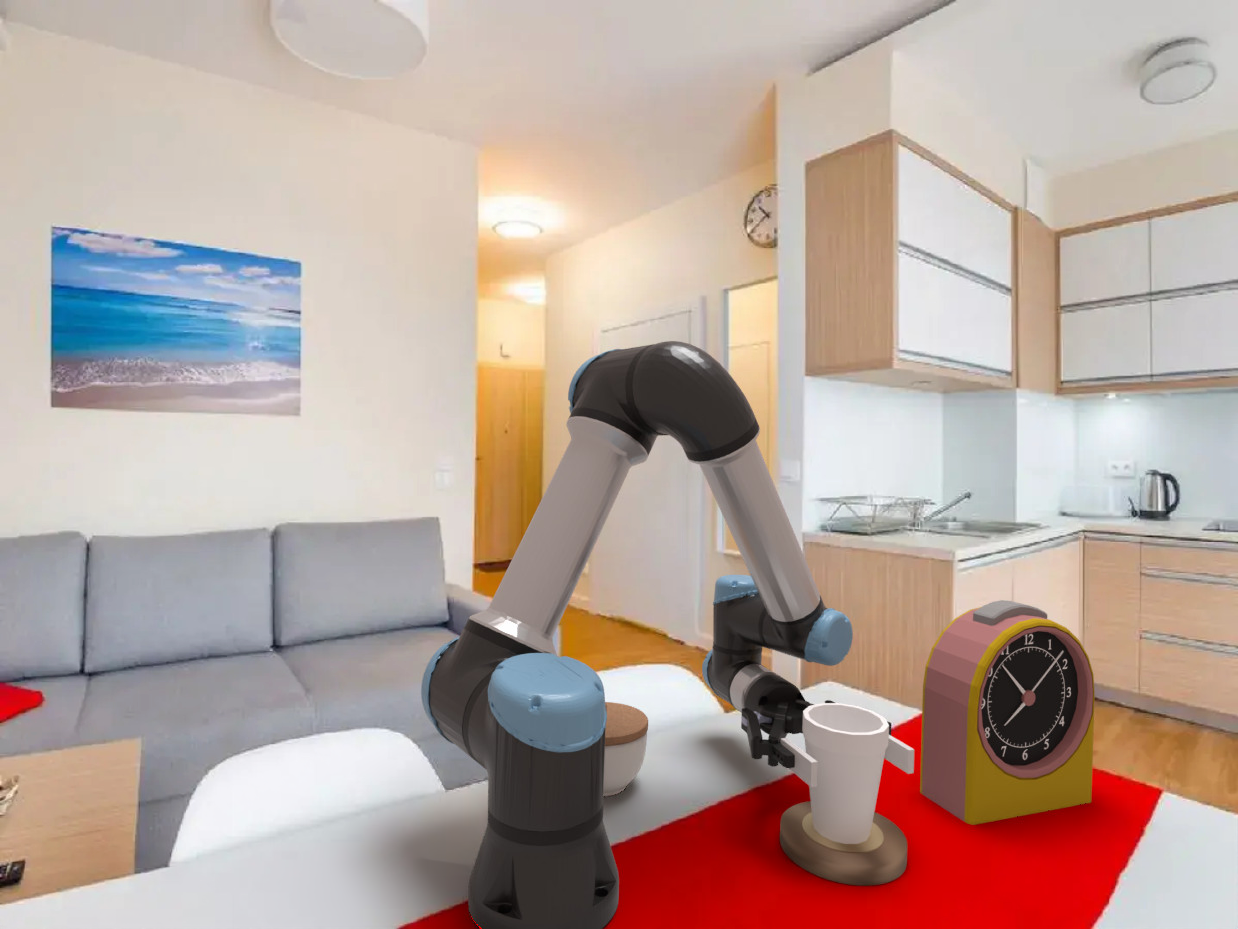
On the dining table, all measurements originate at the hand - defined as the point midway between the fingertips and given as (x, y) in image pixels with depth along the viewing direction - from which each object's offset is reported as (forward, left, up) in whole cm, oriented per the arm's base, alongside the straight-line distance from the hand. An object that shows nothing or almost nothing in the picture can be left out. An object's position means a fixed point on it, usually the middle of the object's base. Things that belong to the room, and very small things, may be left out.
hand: (864, 768), depth 77 cm
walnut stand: (0, +4, -11) cm, 12 cm away
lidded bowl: (-23, +26, -11) cm, 36 cm away
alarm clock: (+29, +9, -11) cm, 32 cm away
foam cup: (0, +4, -9) cm, 10 cm away
